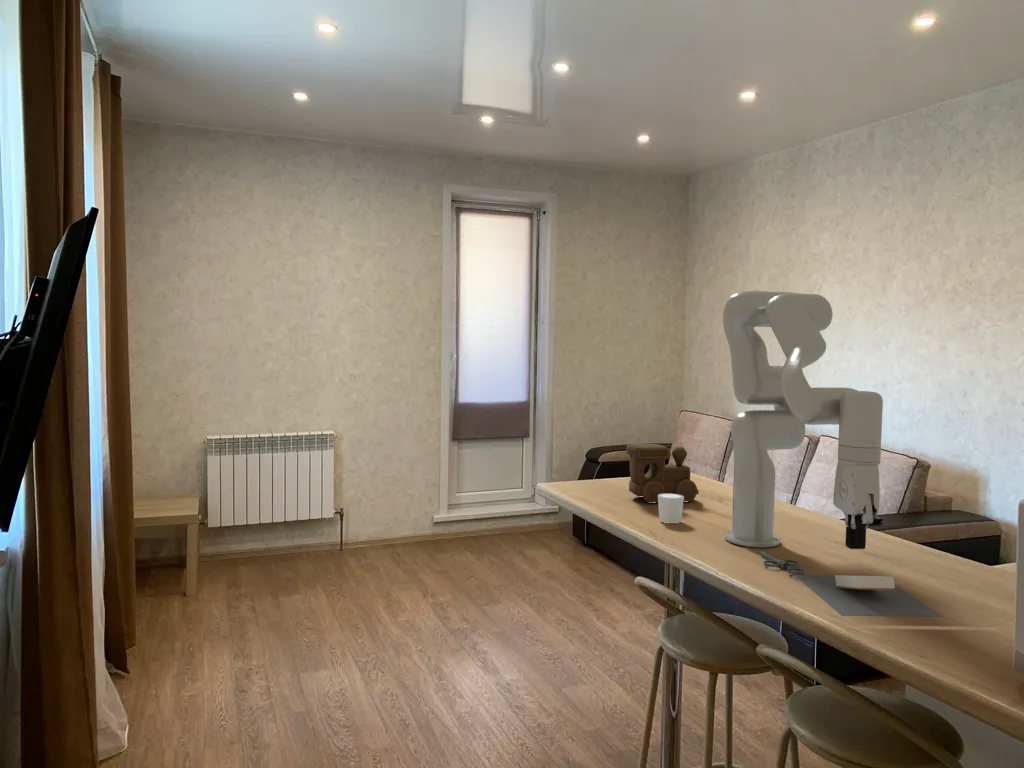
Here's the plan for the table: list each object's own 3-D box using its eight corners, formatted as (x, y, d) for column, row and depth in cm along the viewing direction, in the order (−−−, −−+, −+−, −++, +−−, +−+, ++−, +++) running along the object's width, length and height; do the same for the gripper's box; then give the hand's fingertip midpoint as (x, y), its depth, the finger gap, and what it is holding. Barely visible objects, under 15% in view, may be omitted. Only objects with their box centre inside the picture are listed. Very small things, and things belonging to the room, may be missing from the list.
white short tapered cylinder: (655, 523, 196) (656, 497, 195) (658, 517, 202) (659, 491, 202) (681, 525, 193) (682, 499, 193) (684, 519, 200) (685, 494, 199)
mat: (794, 577, 153) (794, 574, 153) (881, 578, 153) (881, 576, 153) (841, 618, 131) (841, 615, 131) (943, 619, 131) (943, 616, 131)
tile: (835, 575, 146) (855, 576, 138) (870, 575, 146) (893, 576, 138) (836, 587, 146) (857, 589, 137) (871, 587, 146) (895, 589, 137)
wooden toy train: (637, 505, 216) (639, 448, 215) (623, 497, 227) (624, 443, 226) (701, 503, 220) (703, 447, 219) (684, 495, 231) (685, 441, 230)
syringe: (772, 553, 169) (773, 546, 169) (817, 577, 152) (817, 568, 152) (741, 554, 168) (741, 547, 168) (782, 578, 150) (782, 569, 150)
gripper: (823, 448, 152) (820, 537, 153) (857, 460, 137) (853, 558, 138) (860, 449, 152) (856, 537, 153) (898, 461, 137) (894, 559, 138)
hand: (855, 547), depth 146 cm, fingers closed
